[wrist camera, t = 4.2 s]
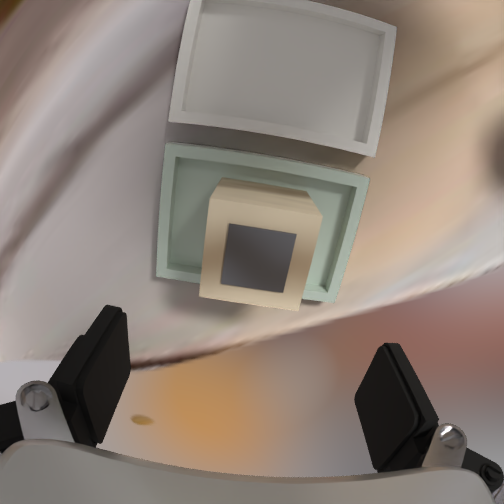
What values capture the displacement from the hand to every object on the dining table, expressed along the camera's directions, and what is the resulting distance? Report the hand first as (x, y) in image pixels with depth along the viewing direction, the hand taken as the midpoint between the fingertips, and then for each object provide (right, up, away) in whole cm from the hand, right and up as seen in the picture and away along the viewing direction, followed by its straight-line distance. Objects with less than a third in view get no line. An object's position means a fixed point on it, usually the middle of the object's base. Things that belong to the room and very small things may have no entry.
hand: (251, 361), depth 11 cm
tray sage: (0, +6, +13) cm, 14 cm away
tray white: (+2, +16, +8) cm, 18 cm away
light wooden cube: (0, +6, +12) cm, 14 cm away
